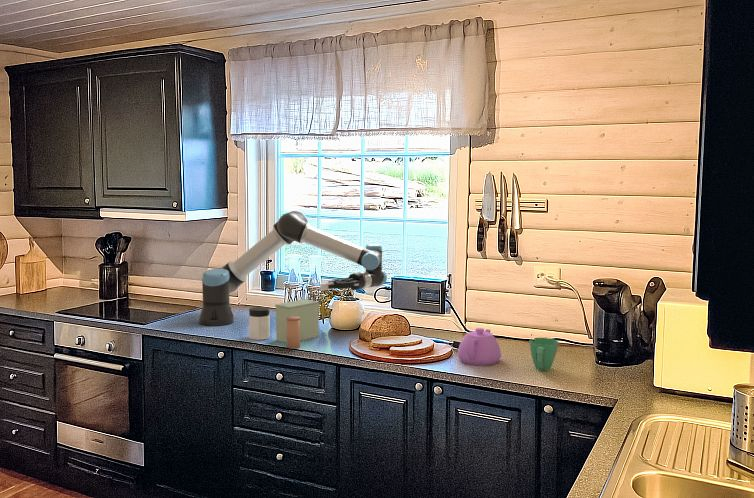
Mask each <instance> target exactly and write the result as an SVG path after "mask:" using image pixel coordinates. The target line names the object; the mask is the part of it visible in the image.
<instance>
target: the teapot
mask: <svg viewBox="0 0 754 498" xmlns="http://www.w3.org/2000/svg"><path fill="white" fill-rule="evenodd" d="M457 356H458V358H459V360H460V361H461V362H462V363H464V364H467V365H471V366H479V367H480V366H481V367H483V366H484V367H485V366H486V367H487V365H488V366H493V365H495V363H496V364H497V363H498V362H499V361H500V359H501V358H502V352H501V347H500V345H499V342H498V340H497V339H496V337H495V336H494V335H493V333H492V332H491V329H485V328H483V327H476V328H475V331H474V330H473V331H469V332H467V333H466V334H465V335H464V337H463V338H462V340H461V341H460V343H459V346H458V349H457Z"/></svg>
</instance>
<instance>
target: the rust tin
mask: <svg viewBox="0 0 754 498" xmlns="http://www.w3.org/2000/svg"><path fill="white" fill-rule="evenodd" d="M300 347H301V341H300V317H297V316H290V317H287V343H286V349H289V350H290V349H292V350H294V349H299V348H300Z"/></svg>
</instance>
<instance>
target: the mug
mask: <svg viewBox="0 0 754 498" xmlns="http://www.w3.org/2000/svg"><path fill="white" fill-rule="evenodd" d="M558 347H559V341H558V340H557V339H554V338H549V337H534V339H533V338H530V339H529V350H530V353H531V359H532V362H533V365H534V368H535V370H537V369H539V370H538V371H540V370H548V371H550V370H551V368H552V366H553V363H554V360H555V358H556V355H557V352H558ZM549 369H550V370H549Z"/></svg>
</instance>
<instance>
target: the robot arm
mask: <svg viewBox="0 0 754 498" xmlns="http://www.w3.org/2000/svg"><path fill="white" fill-rule="evenodd" d="M294 242H297V243H299V244H303V243H305V244H308V245H310V246H313V247H315V248H317V249H320V250H322V251H325V252H328V253H330V254H333V255H335V256H337V257H339V258H342V259H345V260H348V261H350V262H352V263H355V264H357V265H359V266H362V267H363V268H364V269H365V271H358V272H353V273H350V274H349V276H348V277H345V278H341V279H340V278H336V279H333V280H329V281H327V282H324V283H320V284H319V286H320V287H319V289H320V291H322V292H323V291H328V290H330V291H331V290H334V289H335V290H342V289H343V290H344V289H345V290H346V289H351V290H352V291H359V290H363V291H365V289H370V288H376V287H379V286H380V287H381V286H382V285H383V286H384V284H386V282H387V280H388V275H387V273H386V271H385V270H384V269H383V248H382V247H383V246H382V245H381V244H378V243H368V244H366V245H365V247H362V246H360V245H357V244H355V243H352V242H350V241H348V240H345V239H342V238H340V237H338V236H335V235H333V234H330V233H328V232H325V231H323V230H321V229H318V228H315V227H313V226H311V224H310V222H309V220H308V217H307V216H306V215H305V213H303V212H301V211H298V210H293V211H289V212H287V213H284V214H282V215H281V216H280V217H279V219H278V220H277V222H276V223H274V224H273V225H272V230H271V231H269V232H268V233H267V234H266V235H265V236H264V237H262V238H261V239H260V240H259V241H258V242H256V243H255V244H254V245H253V246H252V247H250V248H249V249H248V250H247V251H245V253H243V254H241V256H240V257H238V258H237V259H236V260H235V261H229V262H227V263H226V264H225V265H223V266H222V267H221V268H211V269H207V270H205V271H204V272H203V273H202V278H201V282H202V285H201V286H202V307H201V311H200V315H199V317H198V323H199V324H200V325H203V326H213V327H214V326H217V327H218V326H227V325H231V324H233V323H234V319H235V318H234V314H233V311H232V308H231V305H230V293H232V292H233V293H234V292H235V291H236V290H237V289H238V288H239V287H240V286H241V285H242V284H243V283H245V282H246V281H247V276H248V275H249V274H251V273H252V272H253V271H254V270H256V269H257V268H258V267H259V266H260V265H262V264H263V263H264V262H265V261H266V260H268V259H269V258H270V257H272V256H273V254H275V253H276V252H277V251H278V250H280V249H281V248H283V246H285V245H289V246H290V245H291V244H292V243H294Z"/></svg>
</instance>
